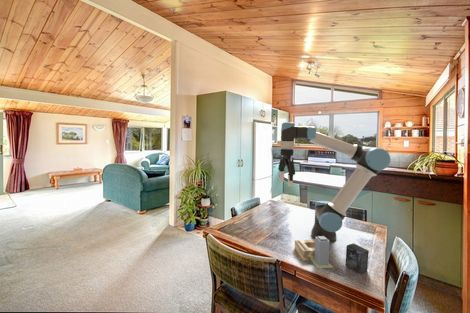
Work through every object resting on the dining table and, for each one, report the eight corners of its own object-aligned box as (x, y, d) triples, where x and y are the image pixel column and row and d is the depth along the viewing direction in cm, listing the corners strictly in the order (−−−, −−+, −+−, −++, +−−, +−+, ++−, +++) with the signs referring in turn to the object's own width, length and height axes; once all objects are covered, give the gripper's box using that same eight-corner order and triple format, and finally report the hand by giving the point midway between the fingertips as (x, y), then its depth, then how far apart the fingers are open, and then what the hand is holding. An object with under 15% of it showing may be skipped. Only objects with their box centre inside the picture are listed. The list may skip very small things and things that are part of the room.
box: (345, 265, 109) (346, 245, 108) (352, 262, 111) (354, 242, 110) (359, 274, 102) (361, 252, 101) (367, 271, 104) (369, 250, 103)
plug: (323, 259, 113) (324, 235, 112) (328, 265, 108) (329, 239, 107) (314, 260, 113) (315, 235, 112) (318, 265, 108) (320, 240, 107)
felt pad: (324, 258, 115) (324, 257, 115) (333, 267, 107) (333, 266, 107) (310, 259, 114) (310, 258, 114) (317, 268, 106) (317, 267, 106)
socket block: (317, 247, 126) (318, 238, 126) (328, 259, 114) (329, 249, 114) (294, 248, 125) (294, 239, 124) (303, 260, 113) (303, 250, 113)
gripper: (274, 147, 141) (272, 180, 143) (289, 149, 117) (287, 188, 118) (284, 147, 142) (283, 179, 144) (302, 149, 118) (300, 188, 120)
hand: (285, 183), depth 131 cm, fingers open, 13 cm apart
